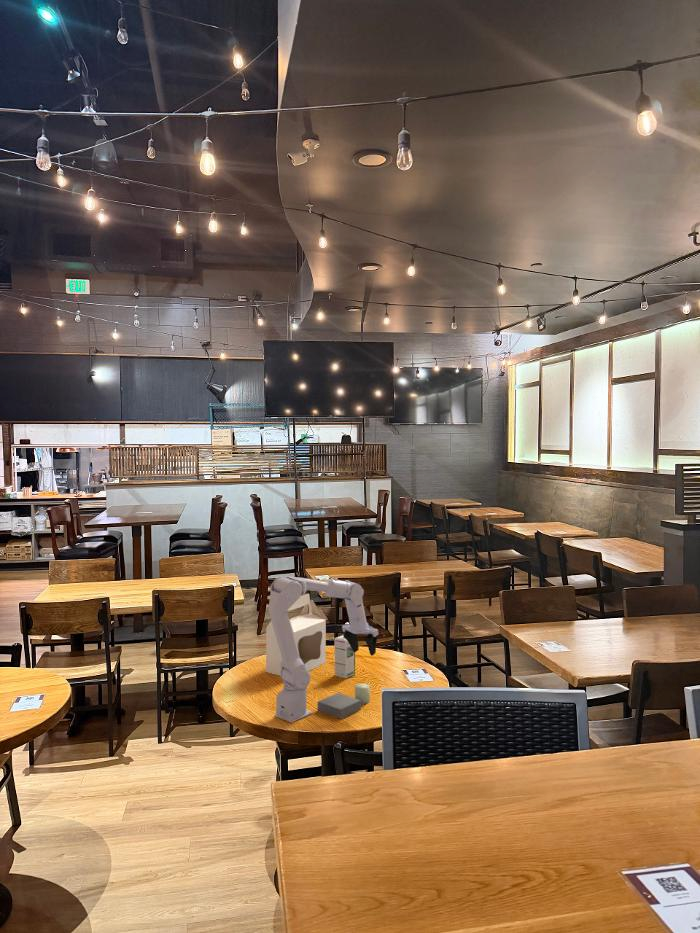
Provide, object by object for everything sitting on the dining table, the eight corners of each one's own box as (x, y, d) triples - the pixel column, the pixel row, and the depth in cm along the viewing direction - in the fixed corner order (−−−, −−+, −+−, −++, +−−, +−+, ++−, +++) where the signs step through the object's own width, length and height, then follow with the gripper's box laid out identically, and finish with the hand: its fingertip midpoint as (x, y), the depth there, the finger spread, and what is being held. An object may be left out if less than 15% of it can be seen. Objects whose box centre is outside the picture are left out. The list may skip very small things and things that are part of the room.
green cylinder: (363, 705, 205) (363, 690, 205) (351, 701, 209) (352, 686, 209) (372, 700, 209) (372, 686, 209) (361, 697, 212) (361, 682, 212)
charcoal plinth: (340, 719, 194) (340, 709, 194) (317, 710, 200) (317, 701, 200) (360, 709, 202) (360, 700, 201) (338, 701, 208) (338, 692, 208)
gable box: (299, 657, 255) (300, 589, 255) (326, 662, 248) (326, 593, 248) (265, 672, 236) (265, 600, 236) (292, 679, 229) (293, 604, 229)
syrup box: (346, 679, 230) (346, 640, 230) (333, 675, 233) (334, 637, 233) (355, 674, 234) (355, 636, 234) (343, 671, 238) (343, 634, 238)
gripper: (380, 613, 209) (388, 650, 211) (348, 609, 218) (355, 644, 220) (367, 622, 204) (375, 659, 206) (335, 617, 213) (343, 653, 215)
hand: (364, 652), depth 213 cm, fingers open, 7 cm apart
